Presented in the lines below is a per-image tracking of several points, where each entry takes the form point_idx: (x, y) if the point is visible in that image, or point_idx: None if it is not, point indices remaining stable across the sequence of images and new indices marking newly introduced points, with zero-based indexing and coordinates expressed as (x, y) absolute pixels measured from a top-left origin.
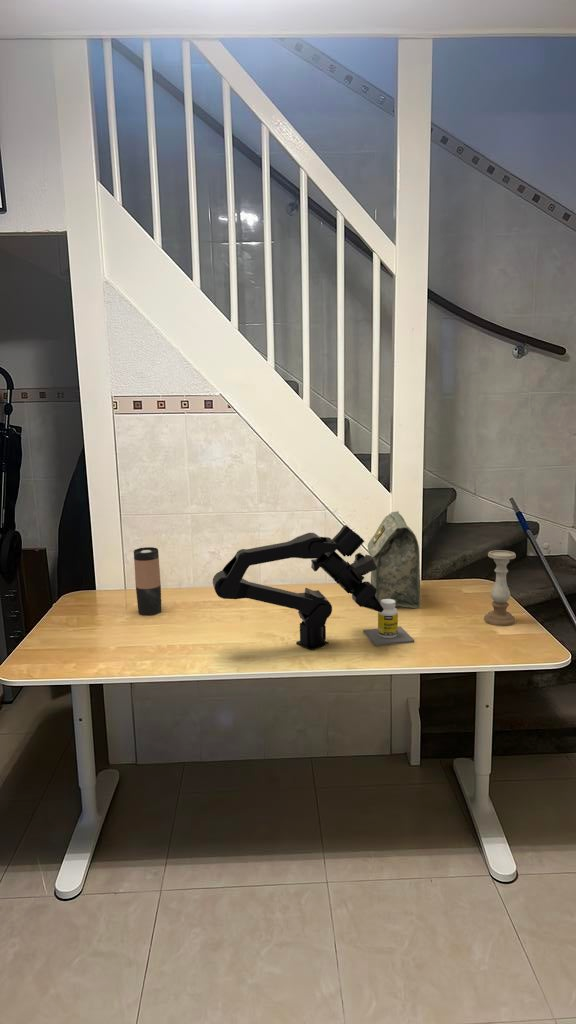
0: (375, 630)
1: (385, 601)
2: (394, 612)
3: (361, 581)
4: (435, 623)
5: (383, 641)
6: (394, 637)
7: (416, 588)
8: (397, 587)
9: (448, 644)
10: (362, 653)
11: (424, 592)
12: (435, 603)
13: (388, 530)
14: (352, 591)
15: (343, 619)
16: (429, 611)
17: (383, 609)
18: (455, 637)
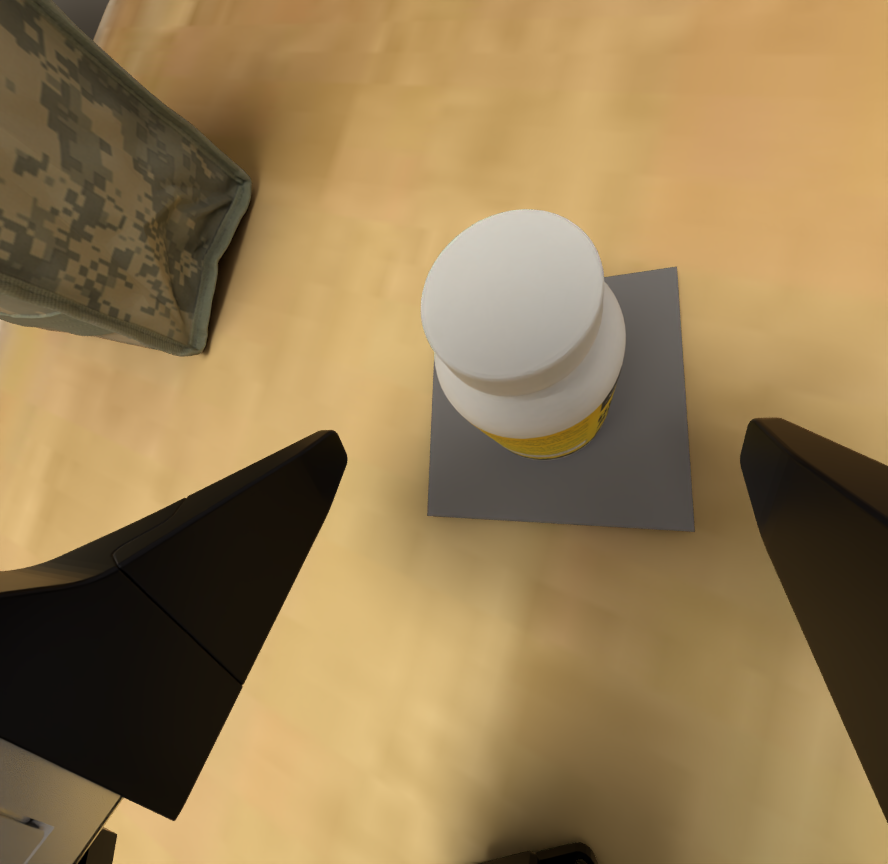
0: (456, 450)
1: (511, 324)
2: (609, 291)
3: (14, 612)
4: (427, 138)
5: (657, 461)
6: None
7: (156, 117)
8: (121, 202)
9: (755, 92)
10: None
11: None
12: (232, 123)
13: None
14: (192, 729)
15: None
16: (294, 151)
17: (781, 422)
18: (643, 55)
